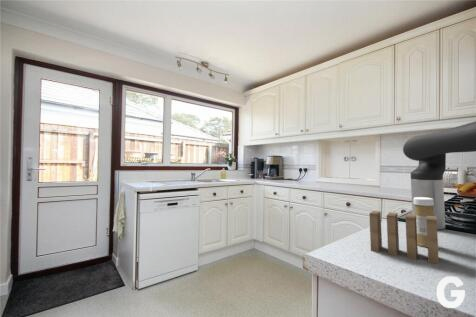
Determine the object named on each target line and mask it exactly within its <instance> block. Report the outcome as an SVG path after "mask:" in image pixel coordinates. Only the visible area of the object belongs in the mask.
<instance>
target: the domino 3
mask: <svg viewBox="0 0 476 317" xmlns="http://www.w3.org/2000/svg"><path fill="white" fill-rule="evenodd" d="M427 241H428V247H427V257H428V258H427V259H428V263H431V264H437V265H438V264H439V258H440V257H439V242H438V241H439V239H438V229H437V217H434V216H427Z"/></svg>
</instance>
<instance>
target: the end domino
mask: <svg viewBox="0 0 476 317" xmlns="http://www.w3.org/2000/svg"><path fill="white" fill-rule="evenodd" d="M369 232H370V233H369V234H370V235H369V238H370V241H369V242H370V251H371V252H377V253H379V252H380V251H381V249H382V247H383V240H382V239H383V238H382V211H381V210H372V211H370V213H369Z"/></svg>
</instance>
